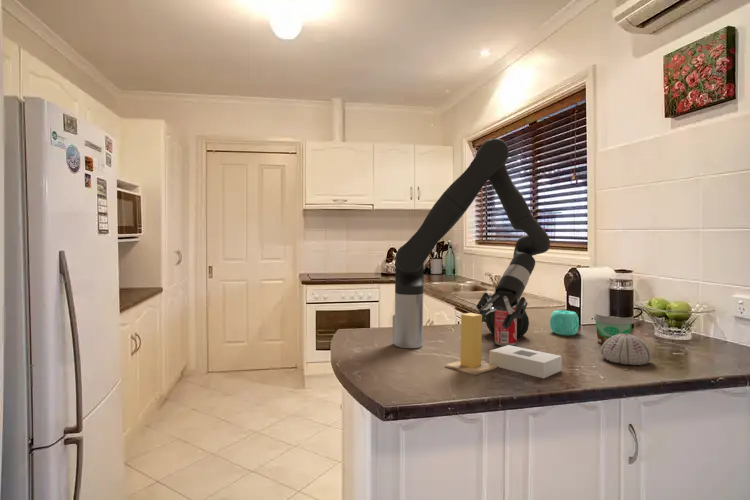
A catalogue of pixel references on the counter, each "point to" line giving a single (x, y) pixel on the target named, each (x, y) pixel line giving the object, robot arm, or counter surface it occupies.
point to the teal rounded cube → (564, 322)
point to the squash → (521, 323)
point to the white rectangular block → (526, 361)
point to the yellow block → (471, 339)
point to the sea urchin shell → (626, 350)
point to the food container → (612, 326)
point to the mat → (474, 371)
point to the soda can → (505, 335)
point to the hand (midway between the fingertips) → (491, 325)
